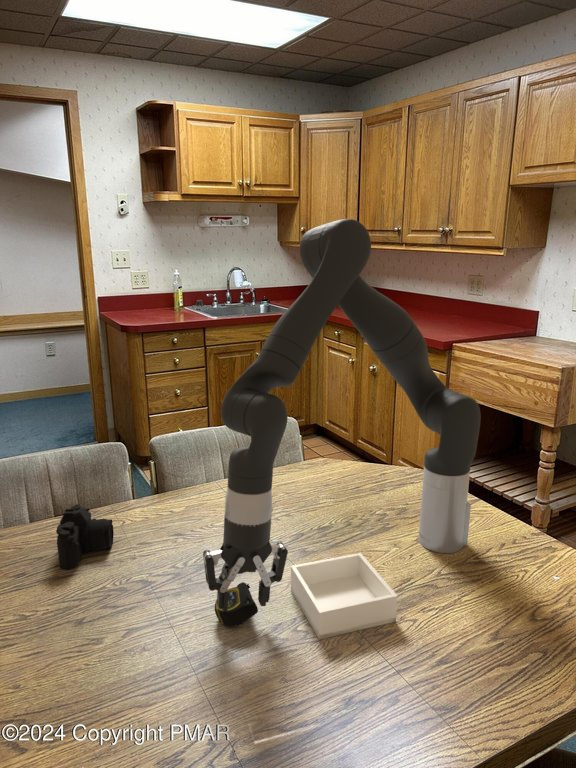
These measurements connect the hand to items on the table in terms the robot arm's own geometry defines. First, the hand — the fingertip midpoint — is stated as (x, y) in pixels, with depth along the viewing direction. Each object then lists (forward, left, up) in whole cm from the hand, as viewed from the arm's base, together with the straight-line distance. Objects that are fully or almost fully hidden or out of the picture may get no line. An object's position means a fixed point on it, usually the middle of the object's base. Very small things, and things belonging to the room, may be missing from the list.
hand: (242, 606), depth 94 cm
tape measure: (-3, -1, -2) cm, 4 cm away
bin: (-18, 0, -4) cm, 18 cm away
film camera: (+25, -33, -4) cm, 41 cm away
